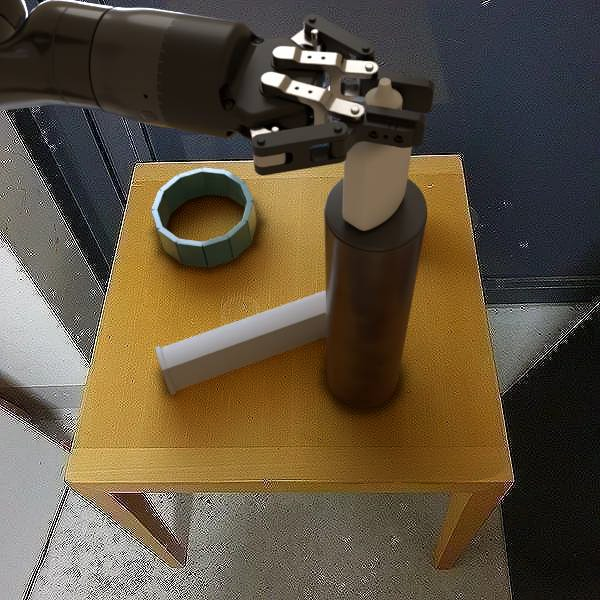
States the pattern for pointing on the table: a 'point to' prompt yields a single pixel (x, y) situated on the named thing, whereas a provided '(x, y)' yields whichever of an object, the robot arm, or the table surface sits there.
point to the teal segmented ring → (196, 186)
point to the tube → (243, 342)
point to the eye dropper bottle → (375, 171)
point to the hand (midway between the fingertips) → (427, 113)
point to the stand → (370, 296)
